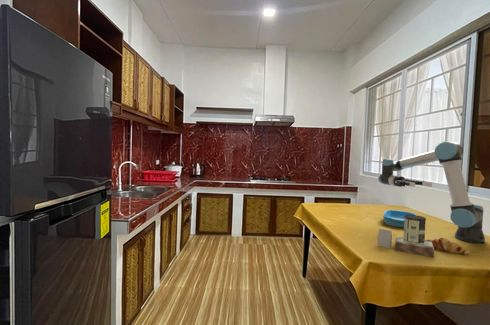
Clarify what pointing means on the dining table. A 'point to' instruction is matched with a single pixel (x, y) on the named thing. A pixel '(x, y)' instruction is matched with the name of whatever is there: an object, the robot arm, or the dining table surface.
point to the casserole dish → (395, 217)
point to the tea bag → (384, 238)
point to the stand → (414, 247)
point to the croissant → (448, 246)
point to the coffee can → (414, 229)
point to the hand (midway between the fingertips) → (423, 184)
